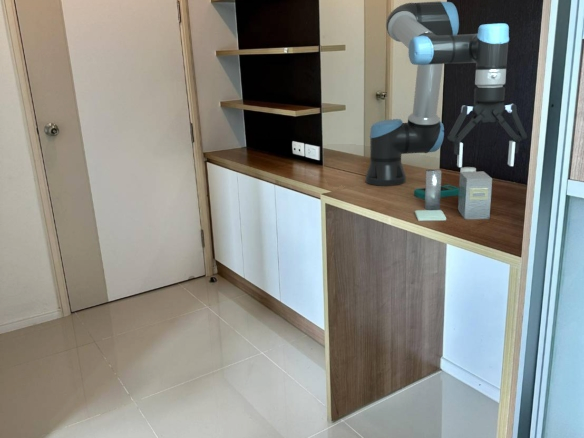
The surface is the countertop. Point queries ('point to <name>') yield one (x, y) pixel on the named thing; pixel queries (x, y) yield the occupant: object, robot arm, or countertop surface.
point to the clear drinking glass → (433, 189)
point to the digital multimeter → (445, 191)
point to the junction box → (474, 195)
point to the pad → (429, 215)
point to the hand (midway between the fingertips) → (484, 165)
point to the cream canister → (468, 169)
